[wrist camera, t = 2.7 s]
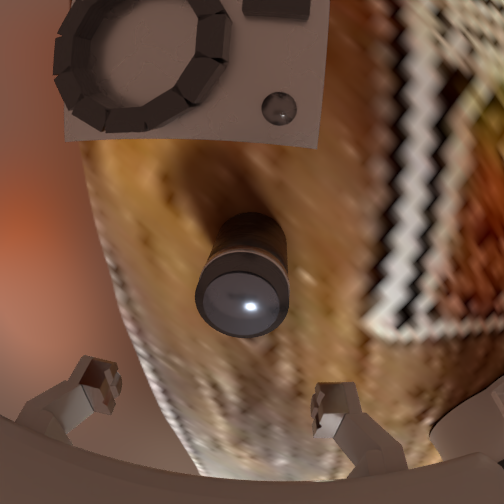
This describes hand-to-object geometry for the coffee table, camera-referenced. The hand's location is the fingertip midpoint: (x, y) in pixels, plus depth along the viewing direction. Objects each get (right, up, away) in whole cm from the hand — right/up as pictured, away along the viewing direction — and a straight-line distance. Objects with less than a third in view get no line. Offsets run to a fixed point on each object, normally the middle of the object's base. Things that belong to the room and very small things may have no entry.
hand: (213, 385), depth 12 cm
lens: (+1, +6, +11) cm, 13 cm away
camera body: (-2, +18, +5) cm, 18 cm away
